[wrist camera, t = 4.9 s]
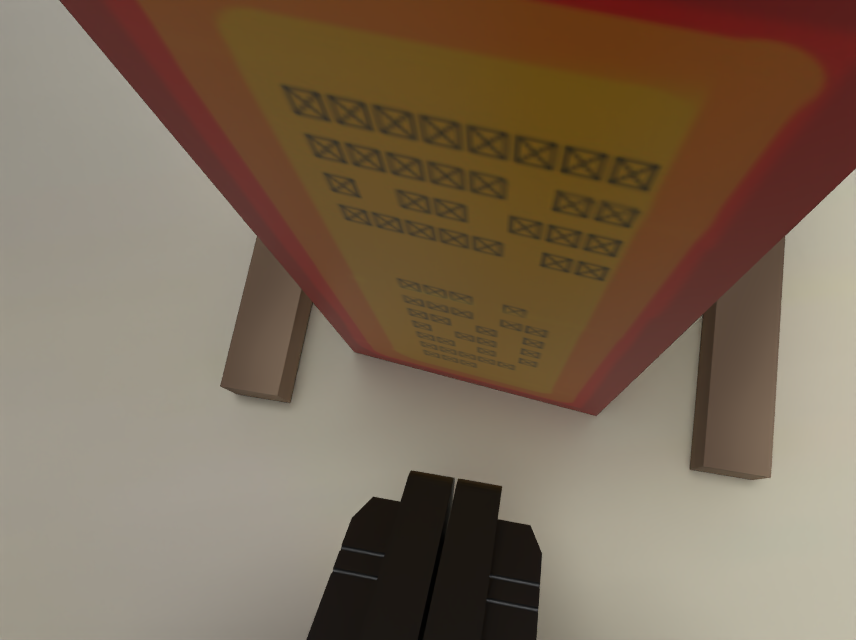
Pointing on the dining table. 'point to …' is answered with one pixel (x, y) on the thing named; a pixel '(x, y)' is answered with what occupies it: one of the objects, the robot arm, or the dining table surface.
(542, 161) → the baking soda box
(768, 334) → the slot rails
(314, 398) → the dining table surface
